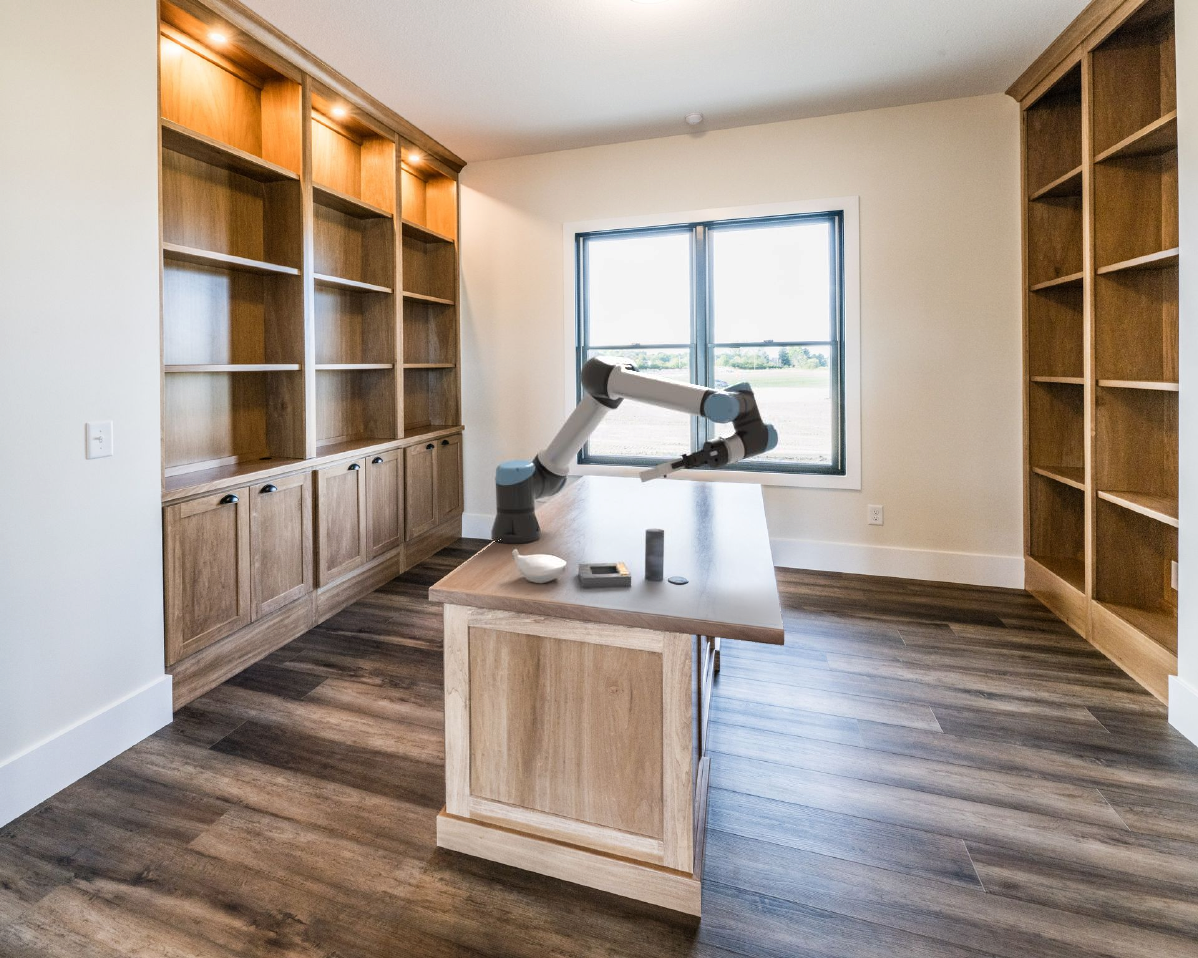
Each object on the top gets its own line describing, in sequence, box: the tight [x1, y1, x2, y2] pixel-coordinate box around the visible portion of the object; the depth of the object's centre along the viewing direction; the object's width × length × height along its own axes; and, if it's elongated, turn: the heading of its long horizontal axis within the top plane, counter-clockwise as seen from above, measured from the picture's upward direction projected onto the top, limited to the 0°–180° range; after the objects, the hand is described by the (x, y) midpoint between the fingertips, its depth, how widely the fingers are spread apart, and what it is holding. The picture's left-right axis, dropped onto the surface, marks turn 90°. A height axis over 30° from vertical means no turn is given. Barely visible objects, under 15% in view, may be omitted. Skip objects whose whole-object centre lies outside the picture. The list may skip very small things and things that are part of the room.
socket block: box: [578, 562, 632, 589], centre depth 158 cm, size 12×12×3 cm
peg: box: [644, 528, 665, 582], centre depth 158 cm, size 4×4×12 cm
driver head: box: [511, 549, 568, 584], centre depth 157 cm, size 10×11×12 cm
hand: (649, 474), depth 162 cm, fingers open, 13 cm apart
